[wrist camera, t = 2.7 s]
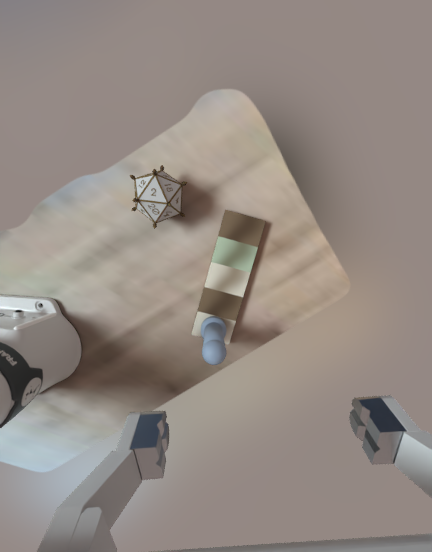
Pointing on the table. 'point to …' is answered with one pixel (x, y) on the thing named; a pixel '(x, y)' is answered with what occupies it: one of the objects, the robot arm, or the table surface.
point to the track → (229, 270)
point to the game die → (158, 196)
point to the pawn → (213, 340)
